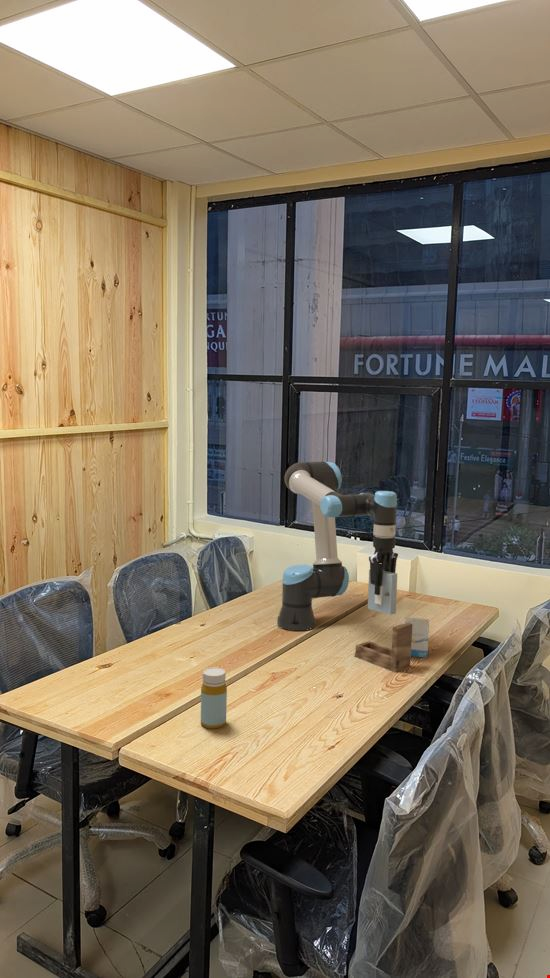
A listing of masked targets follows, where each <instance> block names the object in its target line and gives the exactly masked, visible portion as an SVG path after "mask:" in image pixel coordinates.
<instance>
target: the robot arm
mask: <svg viewBox="0 0 550 978" xmlns="http://www.w3.org/2000/svg"><path fill="white" fill-rule="evenodd" d="M342 482H343V478H342V473H341V470H340V468H339V466H338V465H337V464H336V463H334V462H331V461H301V462H296V463H294V464H293V463H292V465H291V466H290V467H288V468H287V470H286V472H285V474H284V483H285V485H286V488H287V489H288V490H289V491H290V492H292V493H293V494H296V495H302V496H303V497H305V498H306V499H308V500H309V501H311V502H312V503H311V504H312V513H313V514H312V515H313V528H314V531H313V533H314V543H315V545H314V546H315V561H313V563H312V565H309V564H295V565H291V566H288V567H286V569H285V570H284V571H283V574H282V580H281V581H282V593H281V594H282V598H281V600H282V602H281V603H282V605H281V608H280V611H279V614H278V616H277V619H276V621H277V622H276V623H277V624H278V625H277V624H276V625H277V627H279V626H280V627H282V628H285V629H289V630H288V631H291V630H306V631H308V630H307V629H310V628H313V627H314V628H315V627H316V623H317V622H316V618H315V615H314V610H313V599H318V598H319V599H320V598H329V597H332V598H335V597H337V596H341V595H343V594H344V593H345V592H346V591H347V589H348V587H349V581H350V575H349V572H348V569H347V567H345V566H343V563H342V562H343V561H342V560H340V559H339V558H338V543H337V530H336V528H337V527H336V518H341V517H343V518H344V517H358V516H359V517H362V516H371V517H373V531H372V532H373V533H372V534H373V538H372V546H373V548H374V553H373V555H372V556H368V561H369V570H370V583H371V584H373V585H375V603H376V604H380V605H382V597H383V586H381V583H382V576H383V570H384V571H388V572H392V573H396V570H397V569H396V568H397V560H398V556H399V554H398V553H397V552H394V549H395V547H396V538H395V536H396V524H397V511H398V510H397V509H398V508H397V507H398V502H397V498H398V496H397V493H396V492H395V491H389V490H378V491H376V492H375V494H372V493H370V492H360V493H359V494H341V493H338V491H339V490H340V489H341V487H342ZM280 627H279V628H280ZM282 628H281V629H282ZM314 628H313V629H314ZM285 629H284V630H285ZM310 630H311V629H310Z"/></svg>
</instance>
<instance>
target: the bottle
mask: <svg viewBox="0 0 550 978" xmlns="http://www.w3.org/2000/svg"><path fill="white" fill-rule="evenodd" d="M226 674H227V673H226V669H224V668H222V667H215V666H213V667H207V668H205V669H204V670H203V671H202V684H201V687H200V724H201V725H202V726H203V727H204V728H206V729H209V730H213V729H214V730H217V729H220V728H223V727H224V726H225V724H226V723H227V700H228V699H227V698H228V696H227V695H228V694H227V693H228V689H227V687H228V686H227V684H226V679H227V678H226V677H227V676H226Z"/></svg>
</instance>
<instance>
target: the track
mask: <svg viewBox="0 0 550 978" xmlns="http://www.w3.org/2000/svg"><path fill="white" fill-rule="evenodd" d="M391 633H392V636H391V648H390V647H386V646H384V645H381V644H379V643H377V642H374V641H372V640H369V641H368V640H367V641H365V642H362V643H359V644H356V645H355V653H354V657H355V658H357V659H360V660H362V661H365V662H367V663H370V664H372V665H375V666H378V667H380V668H383V669H385V670H388V671H391V672H393V673H397V672H400V671H403V670H405V669H408V668H410V667H411V657H412V656H411V642H412V624H411V623H405V622H404V623H402V624H399V625H396V626H393V627H392V632H391Z"/></svg>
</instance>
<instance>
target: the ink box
mask: <svg viewBox="0 0 550 978" xmlns="http://www.w3.org/2000/svg"><path fill="white" fill-rule="evenodd" d="M429 620H430V619H428V618H419V617H405V620H404V623H411V624H412V642H411V657H417V658H428V653H429V652H428V650H429V636H430V635H429V633H430V621H429Z"/></svg>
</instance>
